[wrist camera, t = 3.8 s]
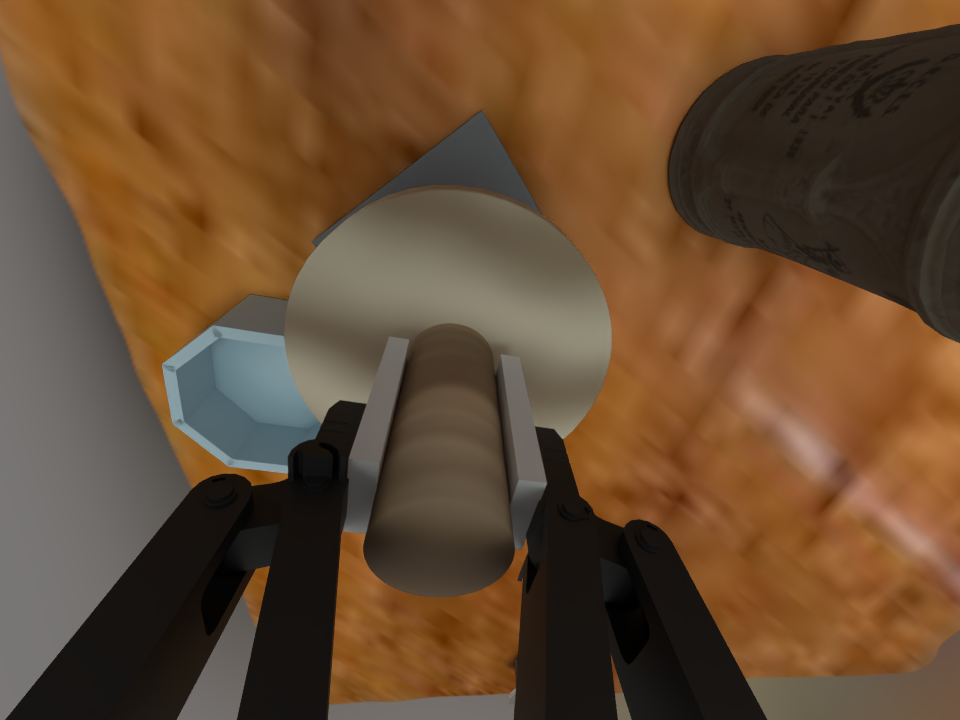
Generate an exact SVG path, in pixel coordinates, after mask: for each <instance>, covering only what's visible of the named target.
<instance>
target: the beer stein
mask: <svg viewBox="0 0 960 720" xmlns="http://www.w3.org/2000/svg"><path fill="white" fill-rule="evenodd" d="M668 179H669V186H670V193H671V197H672V200H673V202H674V204H675V207H676V209H677V211H678V212H679V214H680V215H681V216H682V217H683V219H684V220H685V221H686V222H687V223H688V224H689V225H690V226H692V227H693V228H694V229H696V230H697V231H698V232H700V233H703V234H705V235H708V236H711V237H714V238H718V239H722V240H723V241H725V242H726V243H730V244H734V245H738V246H742V247H748V248H759V249H762V250H765V251H768V252H771V253H774V254H776V255H779V256H782V257H785V258H787V259H790V260H792V261H795V262H798V263H800V264H803V265H805V266H808V267H810V268H813V269H815V270H818V271H820V272H823V273H825V274H828V275H830V276H833V277H835V278H837V279H840V280H842V281H845V282H847V283H850V284H852V285H855V286H857V287H859V288H862V289H864V290H867V291H869V292H871V293H874V294H876V295H879V296H881V297H883V298H886V299H888V300H891V301H893V302H895V303H898V304H900V305H902V306H904V307H906V308H908V309H911V310H913V311H915V312H917V313H918V315H919V316H920V317H921V319H922V320H923V322H924V323H925V324H927V325H928V326H929V327H931V328H932V329H934V330H935V331H937V332H938V333H939V334H941V335H942V336H944V337H946V338H949V339H951V340H953V341H956V342H958V343H960V24H955V25H949V26H945V27H941V28H937V29H932V30H925V31H919V32H913V33H906V34H901V35H896V36H891V37H886V38H881V39H873V40H866V41H855V42H852V43H849V44H843V45H835V46H828V47H824V48H820V49H817V50H813V51H806V52H801V53H796V54H791V55H774V56H766V57H762V58H759V59H756V60H753V61H750V62H747V63H744V64H742V65H740V66H738V67H737V68H735V69H733V70H732V71H730V72H728V73H727V74H725V75H723V76H722V77H721V78H720V79H719V80H717V81H716V82H715V83H714V84H713V85H712V86H710V87H709V88H708V89H707V90H706V91H705V92H704V93H703V94H702V95H701V96H700V98H699V99H698V100H697V102H696V103H695V104H694V106H693V107H692V108H691V110H690V111H689V113H688V115H687V117H686V118H685V120H684V122H683V124H682V125H681V127H680V129H679V132H678V135H677V138H676V140H675V143H674V146H673V149H672V152H671V158H670V165H669V177H668Z"/></svg>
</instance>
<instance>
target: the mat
mask: <svg viewBox="0 0 960 720" xmlns="http://www.w3.org/2000/svg"><path fill="white" fill-rule="evenodd" d="M431 185H461V186H469V187H476V188H482V189H486V190H489V191H493V192H496V193H500V194H503V195H506V196H508V197H510V198H513V199H515V200H517V201H519V202H522V203H524V204H526V205H527V206H529V207H531V208H532V209H534V210H535V211H537V212H539V213H540V214H542V213H541V212H540V210H539V208H538V206H537V205H536V203H535V201H534V199H533V198H532V196H531V194H530V193H529V191H528V189H527V187H526V186H525V184H524V182H523V180H522V179H521V177H520V175H519V173H518V172H517V170H516V168H515V166H514V165H513V163H512V161H511V159H510V158H509V156H508V154H507V153H506V151H505V149H504V147H503V146H502V144H501V142H500V140H499V139H498V137H497V135H496V133H495V132H494V130H493V128H492V126H491V125H490V123H489V121H488V119H487V118H486V116H485V114H484V112H483V111H480V112H479V113H478V114H477V115H475V116H474V117H473V118H471V119H470V120H469V121H467V122H466V123H465V124H464V125H462V126H461V127H460V128H458V129H457V130H456V131H454V132H453V133H452V134H451V135H449V136H448V137H447V138H445V139H444V140H443V141H442V142H440V143H439V144H438V145H436V146H435V147H434V148H432V149H431V150H430V151H429V152H427V153H426V154H425V155H423V156H422V157H421V158H419V159H418V160H417V161H416V162H414V163H413V164H412V165H410V166H409V167H408V168H407V169H405V170H404V171H403V172H401V173H400V174H399V175H397V176H396V177H395V178H394V179H392V180H391V181H390V182H388V183H387V184H386V185H384V186H383V187H382V188H381V189H379V190H378V191H377V192H375V193H374V194H373V195H372V196H370V197H369V198H368V199H366V200H365V201H364V202H362V203H361V204H360V205H359V206H357V207H356V208H355V209H353V210H352V211H351V212H349V213H348V214H347V215H346V216H344V217H343V218H342V219H340V220H339V221H338V222H337V223H335V224H334V225H333V226H331V227H330V228H329V229H327V230H326V231H325V232H324V233H322V234H321V235H320V236H318V237H317V238H316V239H315V240H313V241H312V243H313V244H314V245H315V246H316V248H317V247H318V245H319V244H320V243H321V242H322V241H323V240H324V239H325V238H326V237H327V236H328V235H329V234H330V233H332V232H333V231H334V230H335V229H336V228H337V227H338V226H339V225H340V224H342V223H343V222H344V221H345V220H346V219H347V218H348V217H349V216H351V215H352V214H354V213H356V212H357V211H359V210H360V209H362V208H363V207H365V206H366V205H368V204H370V203H372V202H374V201H376V200H379V199H381V198H383V197H385V196H387V195H390V194H394V193H397V192H400V191H404V190H407V189H411V188H417V187H424V186H431Z"/></svg>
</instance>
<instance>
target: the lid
mask: <svg viewBox="0 0 960 720" xmlns="http://www.w3.org/2000/svg"><path fill="white" fill-rule="evenodd" d="M389 336H390V337H396V338H402V339H408V340H409V346H408V354H407V361H406V366H405V371H404V375H403V379H402V384H401V388H400V392H399V396H398V401H397V405H396V409H395V414H394V418H393V422H392V427H391V431H390V435H389V440H388V444H387V448H386V453H385V457H384V461H383V465H382V470H381V474H380V478H379V483H378V487H377V491H376V494H375V497H374V502H373V506H372V510H371V515H370V519H369V523H368V527H367V532H366V536H365V540H364V545H363V552H364V557H365V560H366V562H367V564H368V566H369V568H370V569H371V570H372V572H373V573H374V574H375V575H376V576H377V577H378V578H380V579H381V580H382V581H384V582H385V583H387V584H388V585H390V586H392V587H394V588H396V589H398V590H401V591H404V592H407V593H410V594H414V595H419V596H426V597H453V596H460V595H465V594H469V593H472V592H475V591H478V590H481V589H483V588H485V587H487V586H489V585H491V584H492V583H494V582H495V581H497V580H498V579H499V578H500V577H502V575H503V574H504V573H505V572H506V571H507V570H508V568H509V567H510V565H511V563H512V561H513V558H514V553H515V545H514V537H513V528H512V519H511V510H510V501H509V492H508V484H507V475H506V466H505V457H504V448H503V440H502V431H501V422H500V413H499V404H498V396H497V387H496V378H495V375H496V371H497V367H498V363H499V359H500V355H501V354H502V355H508V356H515V357H520V361H521V366H522V371H523V375H524V380H525V384H526V389H527V393H528V398H529V403H530V407H531V412H532V416H533V421H534V425H535V426H537V427H544V428H551V429H555V431H556V432H557V433H558V434H559V436H560V437H561V438H562V439H564V438H565V437H566V436H567V435H568V434H569V433H570V432H571V431H573V430H574V428H575V427H576V426H577V425H578V424H579V423H580V422H581V420H582V419H583V418H584V417H585V415H586V414H587V412H588V411H589V409H590V408H591V406H592V405H593V403H594V402H595V400H596V398H597V396H598V394H599V392H600V390H601V388H602V386H603V383H604V380H605V377H606V373H607V370H608V366H609V361H610V355H611V341H612V330H611V322H610V314H609V310H608V306H607V303H606V299H605V296H604V293H603V291H602V288H601V286H600V284H599V282H598V280H597V277H596V275H595V274H594V272H593V271H592V269H591V268H590V266H589V264H588V263H587V261H586V260H585V258H584V257H583V256H582V254H581V253H580V252H579V251H578V249H577V248H576V247H575V246H574V245H573V243H572V242H571V241H570V240H569V239H568V238H567V237H566V235H565V234H564V233H563V232H562V231H561V230H560V229H559V228H558V227H557V226H555V225H554V224H553V223H552V222H551V221H549V220H548V219H547V218H546V217H545V216H543V215H542V214H540V213H539V212H537V211H535V210H534V209H532V208H531V207H529V206H527V205H526V204H524V203H522V202H519V201H517V200H515V199H513V198H510V197H508V196H506V195H503V194H500V193H496V192H493V191H489V190H486V189H482V188H476V187H469V186H461V185H431V186H424V187H417V188H411V189H407V190H404V191H400V192H397V193H394V194H390V195H387V196H385V197H383V198H381V199H379V200H376V201H374V202H372V203H370V204H368V205H366V206H365V207H363V208H362V209H360V210H359V211H357V212H356V213H354V214H352V215H351V216H349V217H348V218H347V219H346V220H345V221H344V222H343V223H342V224H340V225H339V226H338V227H337V228H336V229H335V230H334V231H333V232H332V233H330V234H329V235H328V236H327V237H326V238H325V239H324V240H323V241H322V242H321V243H320V244H319V245H318V247H317V248H316V249H315V250H314V252H313V253H312V254H311V255H310V256H309V258H308V259H307V260H306V262H305V264H304V266H303V267H302V269H301V271H300V273H299V274H298V276H297V278H296V280H295V283H294V286H293V288H292V291H291V293H290V296H289V300H288V305H287V309H286V314H285V327H284V340H285V350H286V357H287V361H288V365H289V368H290V372H291V375H292V378H293V380H294V382H295V385H296V387H297V390H298V392H299V393H300V395H301V397H302V398H303V400H304V402H305V403H306V405H307V407H308V408H309V409H310V411H311V412H312V413H313V415H314V416H315V417H316V418H317V420H318V421H319V422H320V423H321V424H322V422H323V421H324V418H325V416H326V414H327V411H328V409H329V408H330V407H332V406H333V405H334V404H335V403H337V402H338V401H339V400H344V401H351V402H358V403H365V404H367V402H368V399H369V396H370V393H371V390H372V387H373V384H374V381H375V378H376V375H377V372H378V369H379V366H380V363H381V360H382V357H383V354H384V351H385V348H386V345H387V342H388V339H389Z"/></svg>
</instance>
